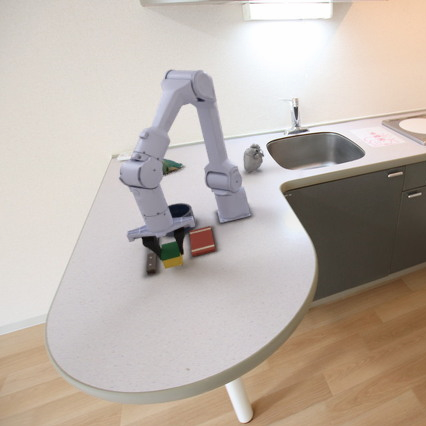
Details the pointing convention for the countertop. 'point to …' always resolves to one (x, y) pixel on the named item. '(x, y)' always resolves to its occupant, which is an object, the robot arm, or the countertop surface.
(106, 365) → the countertop surface
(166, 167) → the green clog
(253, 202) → the countertop surface
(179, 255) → the sponge
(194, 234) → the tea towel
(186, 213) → the pot
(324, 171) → the countertop surface
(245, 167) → the heart
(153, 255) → the knife
